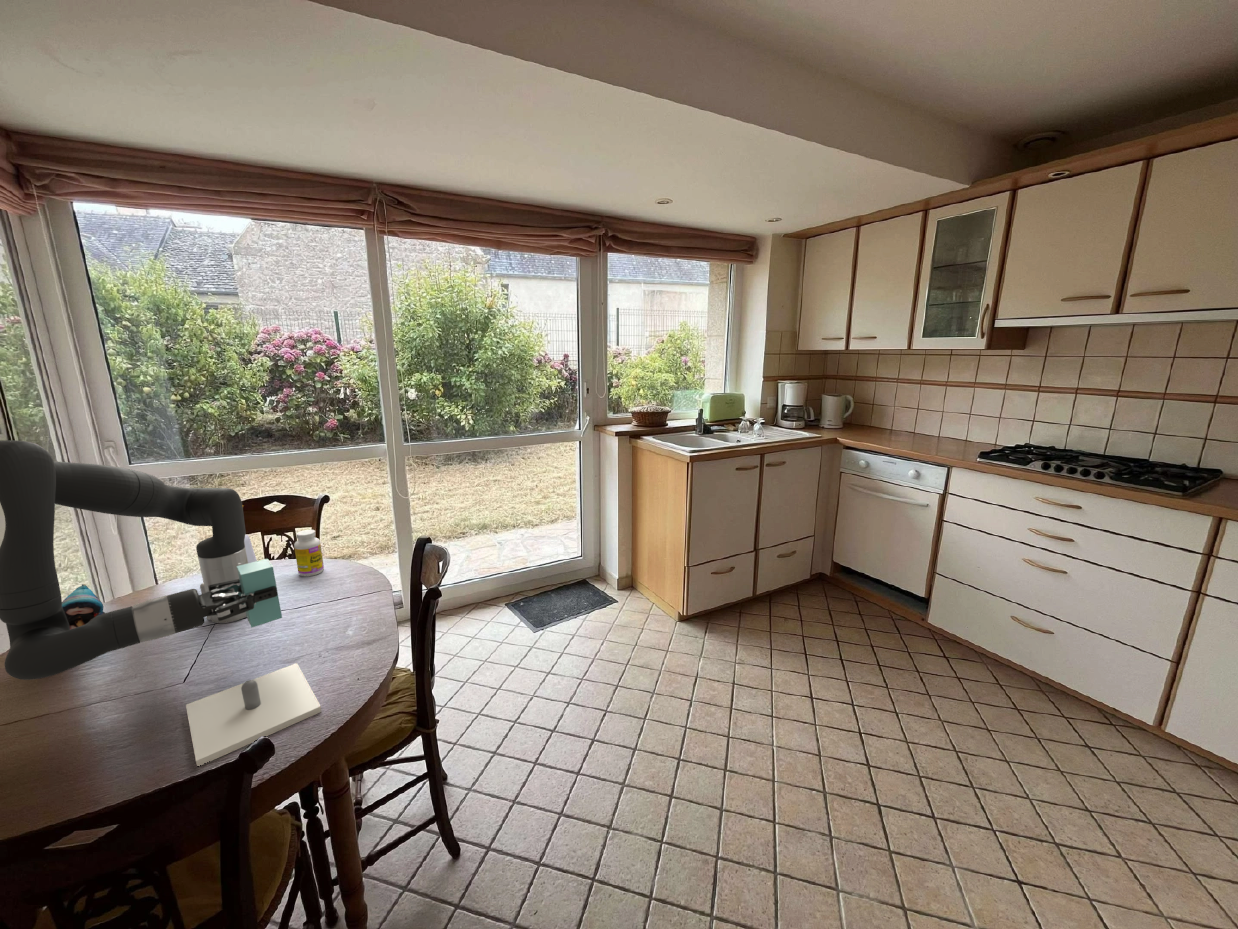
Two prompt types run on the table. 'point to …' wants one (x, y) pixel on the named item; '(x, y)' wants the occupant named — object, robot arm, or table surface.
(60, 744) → the table surface
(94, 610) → the figurine
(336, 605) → the table surface
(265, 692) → the stub base
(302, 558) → the supplement bottle
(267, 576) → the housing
